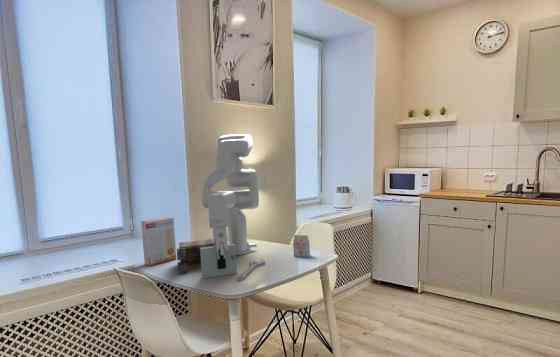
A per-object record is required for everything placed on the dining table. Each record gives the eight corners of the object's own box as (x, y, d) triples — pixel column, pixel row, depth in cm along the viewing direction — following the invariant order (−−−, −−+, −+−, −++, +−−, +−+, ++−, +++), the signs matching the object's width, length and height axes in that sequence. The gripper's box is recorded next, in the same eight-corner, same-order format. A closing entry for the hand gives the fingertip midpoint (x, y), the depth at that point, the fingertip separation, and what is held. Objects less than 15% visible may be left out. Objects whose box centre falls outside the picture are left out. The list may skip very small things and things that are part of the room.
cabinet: (212, 259, 164) (211, 239, 164) (216, 269, 149) (215, 246, 148) (177, 264, 160) (176, 243, 159) (178, 274, 144) (176, 251, 144)
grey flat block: (235, 271, 144) (234, 243, 143) (237, 274, 140) (235, 245, 140) (201, 276, 140) (200, 247, 139) (202, 279, 136) (200, 249, 136)
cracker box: (171, 257, 172) (168, 216, 171) (177, 259, 168) (174, 217, 167) (143, 264, 162) (140, 220, 161) (149, 266, 158) (146, 221, 157)
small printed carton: (297, 254, 167) (296, 234, 167) (309, 255, 164) (309, 234, 164) (293, 256, 164) (293, 235, 163) (306, 257, 161) (306, 236, 160)
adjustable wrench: (242, 282, 132) (242, 278, 132) (227, 281, 134) (227, 277, 134) (266, 263, 156) (266, 259, 155) (254, 262, 158) (253, 258, 158)
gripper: (231, 225, 133) (233, 272, 134) (225, 219, 149) (227, 261, 150) (211, 227, 131) (214, 274, 132) (207, 221, 146) (210, 263, 147)
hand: (221, 267), depth 141 cm, fingers closed on grey flat block, 2 cm apart
